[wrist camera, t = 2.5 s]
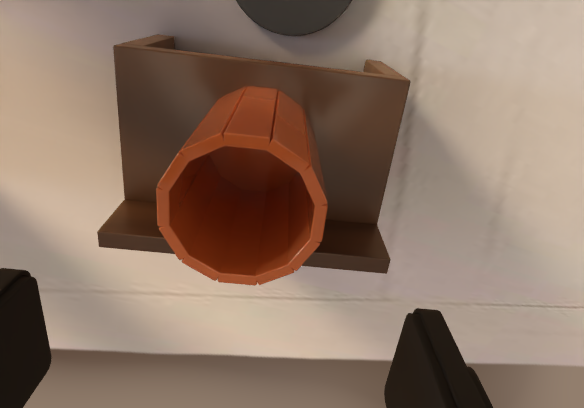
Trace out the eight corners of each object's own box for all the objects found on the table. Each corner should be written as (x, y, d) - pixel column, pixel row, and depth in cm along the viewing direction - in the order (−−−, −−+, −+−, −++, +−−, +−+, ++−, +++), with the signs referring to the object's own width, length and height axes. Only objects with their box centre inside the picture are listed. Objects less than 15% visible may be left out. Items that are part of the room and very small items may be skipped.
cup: (203, 80, 22) (153, 125, 14) (321, 93, 23) (338, 145, 14) (201, 188, 25) (158, 277, 17) (306, 199, 25) (313, 291, 17)
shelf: (157, 34, 29) (76, 53, 18) (381, 61, 29) (434, 95, 19) (161, 167, 33) (98, 247, 22) (356, 187, 34) (387, 274, 23)
